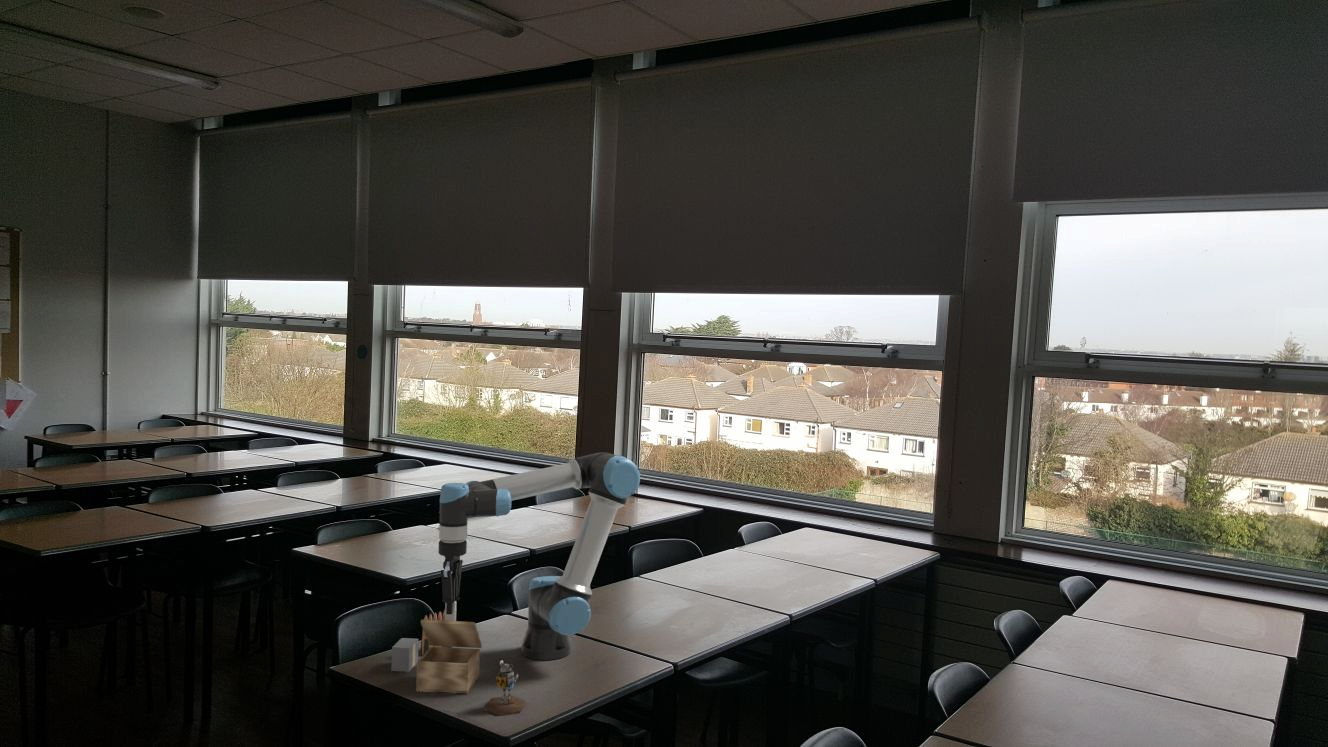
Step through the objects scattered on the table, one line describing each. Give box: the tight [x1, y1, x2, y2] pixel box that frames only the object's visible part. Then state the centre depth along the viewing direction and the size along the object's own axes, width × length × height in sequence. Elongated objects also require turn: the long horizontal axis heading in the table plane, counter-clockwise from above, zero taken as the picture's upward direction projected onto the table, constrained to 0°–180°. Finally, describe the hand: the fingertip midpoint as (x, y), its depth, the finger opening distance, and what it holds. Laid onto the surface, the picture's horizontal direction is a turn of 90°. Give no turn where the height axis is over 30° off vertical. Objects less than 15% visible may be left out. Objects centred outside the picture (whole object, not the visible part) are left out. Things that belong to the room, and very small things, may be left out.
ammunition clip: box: [419, 609, 451, 656], centre depth 260 cm, size 11×2×12 cm, turn 143°
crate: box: [415, 647, 481, 694], centre depth 235 cm, size 14×12×8 cm
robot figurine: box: [484, 660, 527, 717], centre depth 221 cm, size 11×9×12 cm
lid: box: [420, 619, 483, 649], centre depth 237 cm, size 15×13×1 cm
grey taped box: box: [390, 637, 419, 673], centre depth 246 cm, size 5×8×7 cm, turn 178°
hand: (450, 624), depth 235 cm, fingers closed
